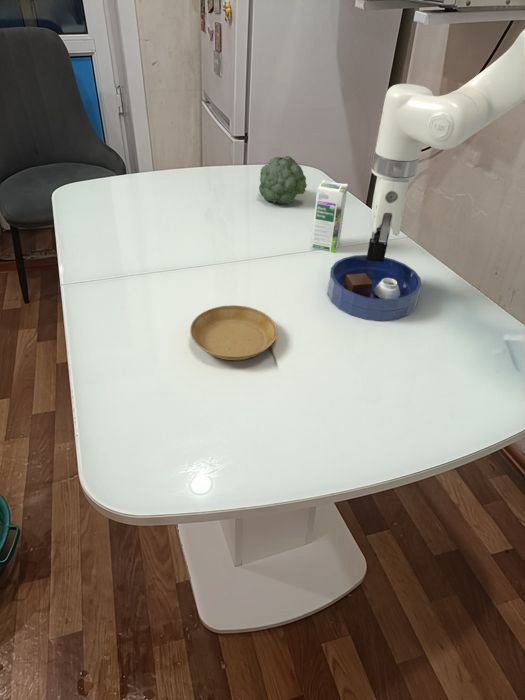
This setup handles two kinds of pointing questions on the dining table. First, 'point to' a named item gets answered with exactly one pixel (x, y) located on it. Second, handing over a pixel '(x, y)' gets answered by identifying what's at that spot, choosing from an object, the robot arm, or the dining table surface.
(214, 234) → the dining table surface
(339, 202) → the syrup box
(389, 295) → the white jar
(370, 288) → the walnut block
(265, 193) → the vegetable
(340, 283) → the bowl
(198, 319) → the plant saucer
